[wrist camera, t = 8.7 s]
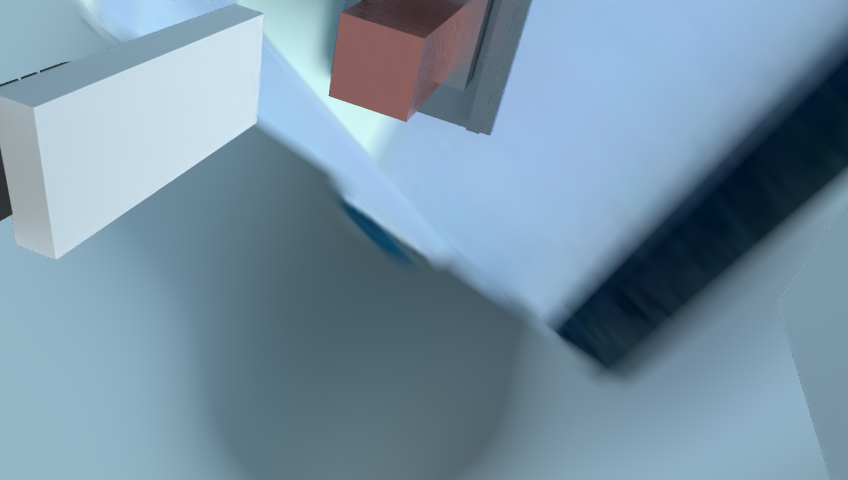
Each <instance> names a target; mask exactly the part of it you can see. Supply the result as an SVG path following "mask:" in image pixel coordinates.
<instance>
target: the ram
mask: <svg viewBox="0 0 848 480" xmlns="http://www.w3.org/2000/svg"><path fill="white" fill-rule="evenodd" d="M491 4H492V0H363V1H361V2H359V3H357V4H355V5H353V6H351V7H349V8H347V9H345V10H343V11H342V12H340V17H339V25H338V32H337V39H336V46H335V54H334V61H333V68H332V75H331V82H330V90H329V96H330V97H333V98H336V99H339V100H342V101H345V102H348V103H351V104H354V105H357V106H360V107H363V108H366V109H369V110H372V111H375V112H378V113H381V114H384V115H387V116H390V117H393V118H396V119H399V120H402V121H405V122H407V121H408V120H409V118H410V117H411V116H412V115H413V114H414V113H415V112H416V111H417V109H418V108H419V107H420V106H421V105H422V104H423V103H424V102H425V101H426V99H427V98H428V97H429V96H430V95H431V94H432V93H433V92H434V91H435V89H436V88H437V87H438V86H439V85H440V84H443V85H446V86H449V87H452V88H455V89H458V90H461V91H464V90H465V89H466V88H467V86H468V85H469V84H470V81H471V78H472V74H473V70H474V67H475V63H476V59H477V56H478V52H479V48H480V44H481V41H482V37H483V33H484V30H485V26H486V22H487V19H488V15H489V11H490V8H491Z"/></svg>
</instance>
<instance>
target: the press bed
mask: <svg viewBox="0 0 848 480" xmlns="http://www.w3.org/2000/svg"><path fill="white" fill-rule="evenodd" d="M361 1H363V0H346V4H345V9H347V8H349V7H351V6H353V5H355V4H357V3H359V2H361ZM531 3H532V0H492V4H491V8H490V11H489V15H488V19H487V22H486V26H485V30H484V33H483V37H482V41H481V44H480V48H479V52H478V56H477V59H476V63H475V67H474V70H473V74H472V78H471V81H470V84H469V85H468V86H467V88H466V89H465V90H464V91H461V90H458V89H455V88H452V87H449V86H446V85H443V84H440V85H439V86H438V87H437V88H436V89H435V91H434V92H433V93H432V94H431V95H430V96H429V97H428V98H427V99H426V101H425V102H424V103H423V104H422V105H421V106H420V107H419V108H418V109H417V112H420V113H423V114H426V115H429V116H432V117H435V118H438V119H441V120H444V121H447V122H451V123H454V124H457V125H460V126H463V127H466V130H469V131H472V132H475V133H478V134H479V133H480V132H481V133H484V134H487V135H490V134H491V133H492V131H493V128H494V124H495V121H496V118H497V114H498V111H499V108H500V105H501V101H502V98H503V95H504V92H505V88H506V85H507V82H508V78H509V75H510V72H511V69H512V65H513V62H514V59H515V56H516V52H517V49H518V46H519V42H520V39H521V36H522V33H523V29H524V26H525V23H526V20H527V16H528V13H529V10H530V7H531Z"/></svg>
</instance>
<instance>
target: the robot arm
mask: <svg viewBox="0 0 848 480" xmlns="http://www.w3.org/2000/svg"><path fill="white" fill-rule="evenodd" d="M263 25H264V13H261V12H258V11H255V10H252V9H249V8H246V7H243V6H239V5H236V4H232V5H229V6H227V7H224V8H221V9H218V10H215V11H213V12H210V13H207V14H204V15H201V16H198V17H196V18H193V19H190V20H187V21H184V22H182V23H179V24H176V25H173V26H170V27H167V28H165V29H162V30H159V31H156V32H153V33H151V34H148V35H145V36H142V37H139V38H136V39H134V40H131V41H128V42H125V43H122V44H120V45H117V46H114V47H111V48H108V49H105V50H103V51H100V52H97V53H94V54H91V55H89V56H86V57H83V58H80V59H77V60H74V61H71V62H64V63H60V64H58V65H55V66H52V67H49V68H46V69H43V70H41V71H40V73H36V72H35V73H32V74H29V75H26V76H24V77H21V80H18V79H15V80H12V81H9V82H6V83H4V84H1V85H0V221H1V220H3V219H5V218H6V217H8V216H10V215H11V218H12V224H13V229H14V234H15V239H16V244H17V245H19V246H21V247H24V248H27V249H29V250H32V251H34V252H37V253H39V254H42V255H44V256H47V257H49V258H52V259H55V260H57V259H58V258H59V257H61V256H62V255H64V254H65V253H67V252H68V251H70V250H71V249H73V248H74V247H76V246H77V245H78V244H80V243H81V242H83V241H84V240H86V239H87V238H89V237H90V236H92V235H93V234H95V233H96V232H97V231H99V230H100V229H102V228H103V227H105V226H106V225H108V224H109V223H111V222H112V221H114V220H115V219H116V218H118V217H119V216H121V215H122V214H124V213H125V212H127V211H128V210H130V209H131V208H133V207H134V206H135V205H137V204H138V203H140V202H141V201H143V200H144V199H146V198H147V197H149V196H150V195H152V194H153V193H154V192H156V191H157V190H159V189H160V188H162V187H163V186H165V185H166V184H168V183H169V182H171V181H172V180H173V179H175V178H176V177H178V176H179V175H181V174H182V173H184V172H185V171H186V170H188V169H189V168H191V167H192V166H194V165H195V164H197V163H198V162H200V161H201V160H203V159H204V158H206V157H207V156H208V155H210V154H211V153H213V152H214V151H216V150H217V149H219V148H220V147H222V146H223V145H225V144H226V143H228V142H229V141H230V140H232V139H233V138H235V137H236V136H238V135H239V134H241V133H242V132H244V131H245V130H246V129H248V128H249V127H251V126H252V125H254V124H255V123H257V109H258V95H259V81H260V67H261V53H262V39H263ZM777 306H778V309H779V313H780V316H781V320H782V323H783V326H784V329H785V332H786V336H787V339H788V342H789V346H790V349H791V352H792V356H793V359H794V362H795V365H796V369H797V372H798V376H799V379H800V382H801V385H802V389H803V392H804V395H805V398H806V402H807V405H808V408H809V412H810V415H811V418H812V422H813V425H814V428H815V431H816V435H817V438H818V441H819V445H820V448H821V451H822V455H823V458H824V461H825V464H826V467H827V471H828V474H829V478H830V480H848V202H847V204H846V205H845V206H844V208H843V209H842V211H841V212H840V213H839V215H838V216H837V218H836V219H835V220H834V222H833V223H832V225H831V226H830V228H829V229H828V230H827V232H826V233H825V235H824V236H823V237H822V239H821V240H820V242H819V243H818V244H817V246H816V247H815V249H814V250H813V251H812V253H811V254H810V256H809V257H808V259H807V260H806V261H805V263H804V264H803V266H802V267H801V268H800V270H799V271H798V273H797V274H796V275H795V277H794V278H793V280H792V281H791V283H790V284H789V285H788V287H787V288H786V289H785V291H784V292H783V294H782V295H781V297H780V298H779V299H778V301H777Z"/></svg>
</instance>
